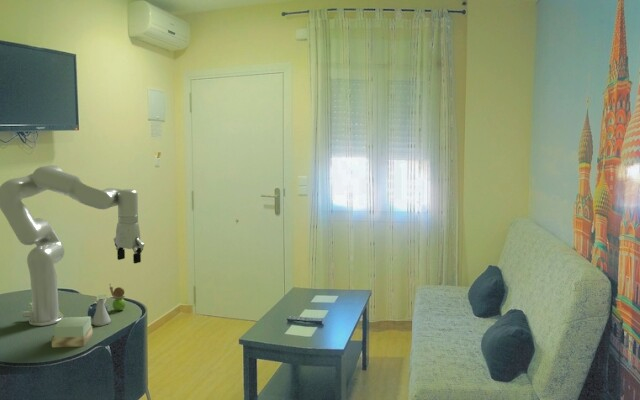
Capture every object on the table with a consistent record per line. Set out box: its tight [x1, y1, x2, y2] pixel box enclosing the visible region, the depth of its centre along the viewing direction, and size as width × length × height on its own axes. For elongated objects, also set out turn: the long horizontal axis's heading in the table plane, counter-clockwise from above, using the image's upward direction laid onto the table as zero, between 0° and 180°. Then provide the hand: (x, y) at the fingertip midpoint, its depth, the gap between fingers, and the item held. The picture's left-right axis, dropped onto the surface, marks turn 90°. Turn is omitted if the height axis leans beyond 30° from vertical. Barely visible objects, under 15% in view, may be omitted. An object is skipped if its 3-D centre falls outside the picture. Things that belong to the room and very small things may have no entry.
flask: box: [91, 297, 112, 327], centre depth 213 cm, size 7×7×10 cm
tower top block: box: [53, 315, 92, 338], centre depth 195 cm, size 10×10×4 cm
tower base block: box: [51, 325, 94, 348], centre depth 196 cm, size 11×11×4 cm
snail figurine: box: [108, 283, 126, 312], centre depth 228 cm, size 5×6×12 cm
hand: (129, 260), depth 214 cm, fingers open, 9 cm apart
